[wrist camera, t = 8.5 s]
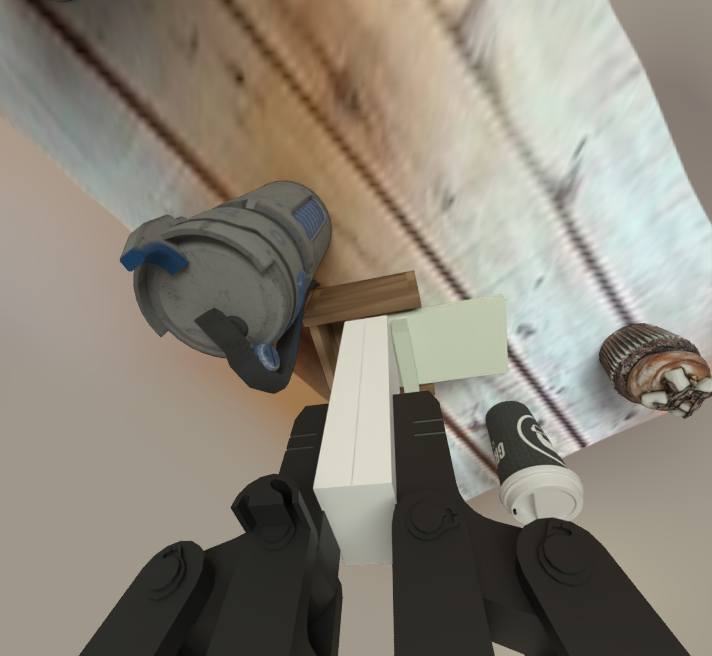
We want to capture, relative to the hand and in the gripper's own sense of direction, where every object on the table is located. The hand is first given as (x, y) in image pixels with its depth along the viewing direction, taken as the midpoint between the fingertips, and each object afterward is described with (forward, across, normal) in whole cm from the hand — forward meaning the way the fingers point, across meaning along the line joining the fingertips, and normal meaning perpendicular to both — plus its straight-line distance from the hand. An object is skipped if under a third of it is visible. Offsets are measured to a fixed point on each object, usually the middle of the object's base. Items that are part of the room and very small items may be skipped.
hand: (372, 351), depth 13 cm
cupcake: (+31, +30, -26) cm, 50 cm away
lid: (+24, +5, -16) cm, 29 cm away
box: (+31, -4, -16) cm, 35 cm away
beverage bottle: (+32, -10, -2) cm, 33 cm away
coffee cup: (+31, +14, -35) cm, 49 cm away
